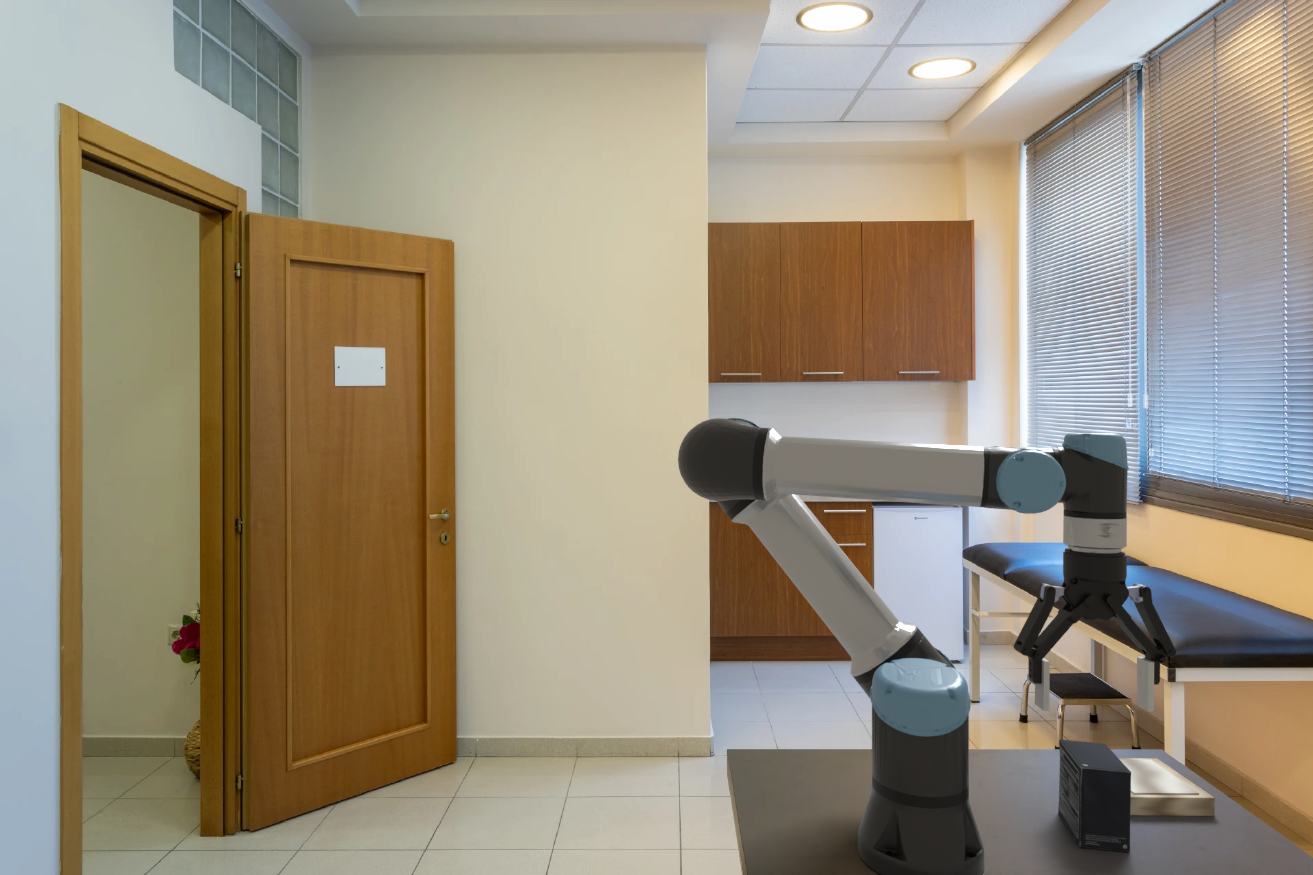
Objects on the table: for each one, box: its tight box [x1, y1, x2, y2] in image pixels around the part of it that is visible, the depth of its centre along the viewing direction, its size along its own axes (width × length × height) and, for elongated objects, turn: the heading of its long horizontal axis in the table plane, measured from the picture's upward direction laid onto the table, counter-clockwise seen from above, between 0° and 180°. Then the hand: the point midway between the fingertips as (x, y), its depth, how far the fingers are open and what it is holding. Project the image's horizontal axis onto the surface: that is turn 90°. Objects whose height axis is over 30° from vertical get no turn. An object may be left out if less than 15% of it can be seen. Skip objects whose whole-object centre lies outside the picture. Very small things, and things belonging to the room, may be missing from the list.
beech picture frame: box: [1118, 757, 1216, 817], centre depth 123 cm, size 12×14×3 cm
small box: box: [1057, 738, 1131, 853], centre depth 112 cm, size 11×6×10 cm, turn 168°
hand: (1093, 708), depth 112 cm, fingers open, 13 cm apart
